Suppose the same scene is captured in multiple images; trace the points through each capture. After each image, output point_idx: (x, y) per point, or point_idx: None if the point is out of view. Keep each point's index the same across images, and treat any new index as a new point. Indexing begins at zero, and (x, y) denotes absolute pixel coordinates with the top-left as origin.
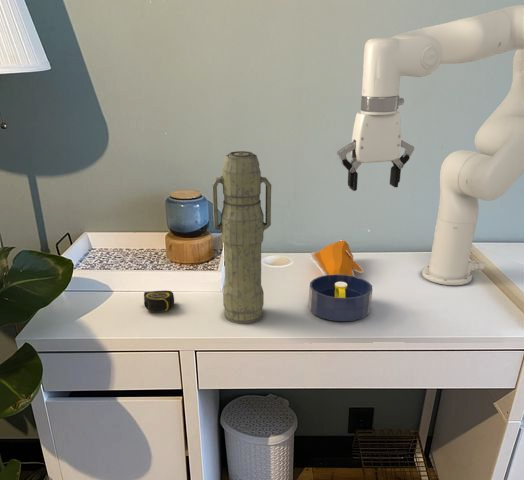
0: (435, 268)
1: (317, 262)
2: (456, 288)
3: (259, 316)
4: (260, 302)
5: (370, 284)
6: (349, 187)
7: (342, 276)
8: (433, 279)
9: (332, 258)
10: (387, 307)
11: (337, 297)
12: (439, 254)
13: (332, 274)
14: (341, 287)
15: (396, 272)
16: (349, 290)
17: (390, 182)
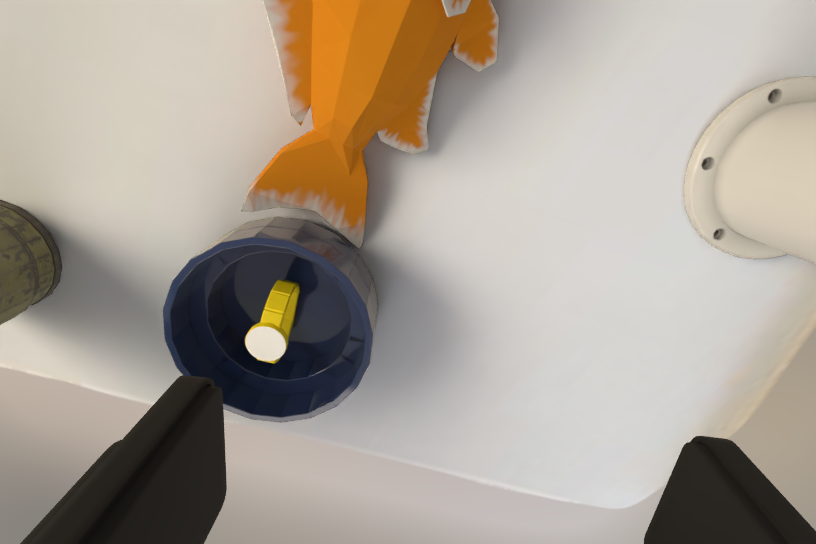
0: (734, 195)
1: (279, 28)
2: (716, 267)
3: (43, 296)
4: (8, 318)
5: (369, 353)
6: (185, 375)
7: (308, 256)
8: (690, 209)
9: (347, 38)
10: (432, 323)
11: (229, 406)
12: (780, 216)
13: (322, 131)
14: (261, 358)
15: (636, 68)
16: (332, 274)
17: (695, 472)
